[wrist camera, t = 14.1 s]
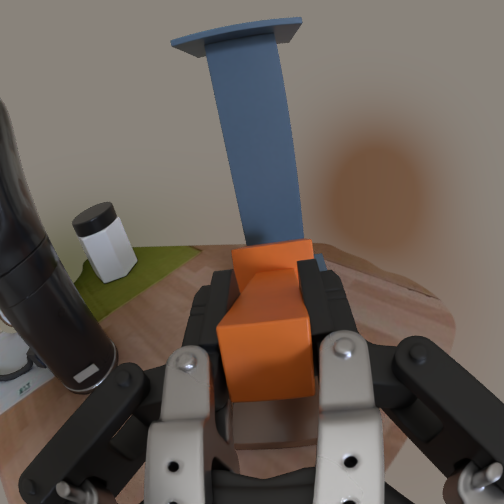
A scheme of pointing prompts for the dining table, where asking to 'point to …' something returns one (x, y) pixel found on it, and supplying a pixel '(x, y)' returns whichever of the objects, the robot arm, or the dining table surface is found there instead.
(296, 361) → the orange toy mallet
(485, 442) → the robot arm
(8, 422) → the dining table surface
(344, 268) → the dining table surface
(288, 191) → the stand
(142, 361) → the dining table surface
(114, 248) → the jar
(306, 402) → the pad
